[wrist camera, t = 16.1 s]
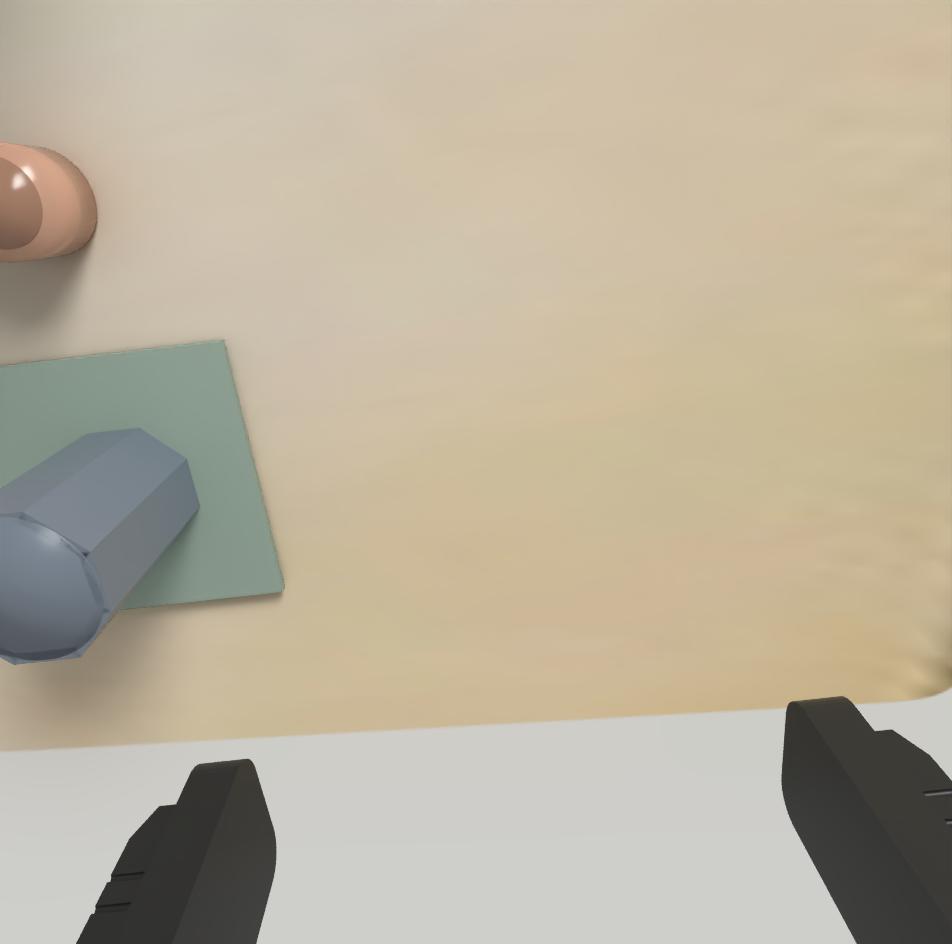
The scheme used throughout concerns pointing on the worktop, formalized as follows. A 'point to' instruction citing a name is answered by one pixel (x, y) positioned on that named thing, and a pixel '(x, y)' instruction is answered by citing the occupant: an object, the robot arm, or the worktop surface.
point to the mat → (176, 425)
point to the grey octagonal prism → (85, 539)
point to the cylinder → (42, 204)
